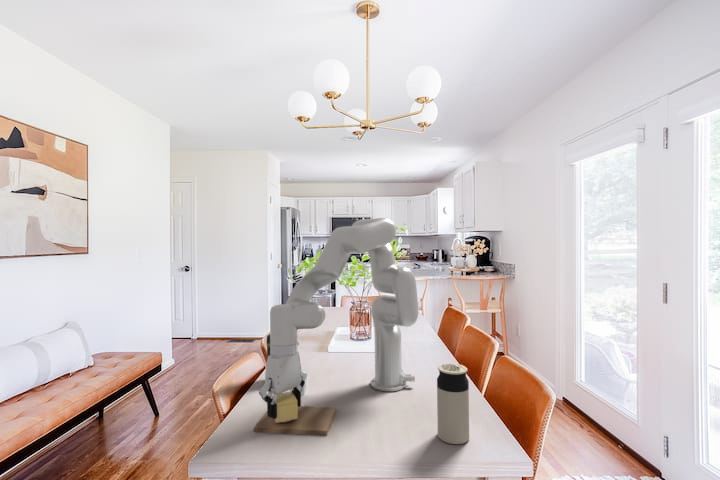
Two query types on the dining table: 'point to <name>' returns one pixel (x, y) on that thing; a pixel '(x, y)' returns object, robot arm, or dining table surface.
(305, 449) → the dining table surface
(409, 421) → the dining table surface
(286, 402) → the tan cardboard cube
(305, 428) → the board
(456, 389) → the travel mug
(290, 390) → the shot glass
